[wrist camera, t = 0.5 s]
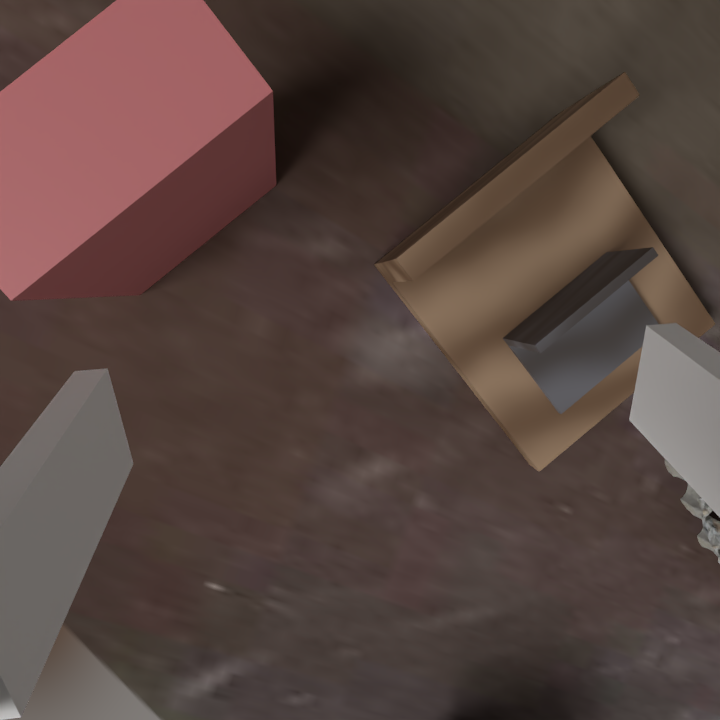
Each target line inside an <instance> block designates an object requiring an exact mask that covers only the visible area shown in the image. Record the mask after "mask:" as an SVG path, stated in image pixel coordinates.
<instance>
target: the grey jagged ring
mask: <svg viewBox="0 0 720 720" xmlns="http://www.w3.org/2000/svg"><path fill="white" fill-rule="evenodd" d="M665 465H666V468H667V470H668V471H669V473H671V474H672V475H673V477H675V476H676V477H679V478H681V479H683V480H684V478H683V477H682V476H681V475H680V474H679V473H678V472H677V471H676V470H675V469H674V468H673V467H672V466H671V464H670V463H669V462H668V461H667V460H666V459H665ZM681 501H682V503H683V504H684V506H685V507H686V509H687V510H689V511H690V512H691V513H692V514H693V515H694V516H697V517H698V518H700V519H702V522H703V529H702V531H701V532H700V533H699V534H698V535H697V537H698V541H699V543H700V544H701V546H702V547H705V548H708V549H710V550H712V551H713V552H714V553H715V554H716V555H717V556H718V558H719V559H718V562H719V563H720V550H719V549H720V522H719V521H718V520H716V519H714V518H712V517H711V516H709V514H710V513H711V512H712V511H713V510H712V509H711V508H710V507H709V505H708V504H707V503H706V502H705V501H704V500H703V499H702V498H701V497H700V496H699V495H698V494H697V493H696V491H695V490H694V489H693V488H692V487H691V486H690V485H689V484H688V487H687V491H686V494H685V495H684V496H683V497H682V498H681Z"/></svg>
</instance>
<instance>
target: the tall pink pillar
mask: <svg viewBox="0 0 720 720" xmlns="http://www.w3.org/2000/svg"><path fill="white" fill-rule="evenodd" d="M275 186H276V161H275V134H274V106H273V91H272V89H271V88H270V87H269V85H268V84H267V83H266V81H265V80H264V79H263V77H262V76H261V75H260V74H259V72H258V71H257V70H256V68H255V67H254V66H253V64H252V63H251V62H250V61H249V59H248V58H247V57H246V55H245V54H244V53H243V51H242V50H241V49H240V47H239V46H238V45H237V44H236V42H235V41H234V40H233V38H232V37H231V36H230V34H229V33H228V32H227V30H226V29H225V28H224V27H223V25H222V24H221V23H220V21H219V20H218V19H217V17H216V16H215V15H214V14H213V12H212V11H211V10H210V8H209V7H208V6H207V4H206V3H205V2H204V0H116V1H115V2H114V3H112V4H111V5H110V6H109V7H107V8H106V9H105V10H104V11H102V12H101V13H100V14H99V15H97V16H96V17H95V18H93V19H92V20H91V21H90V22H88V23H87V24H86V25H85V26H83V27H82V28H81V29H79V30H78V31H77V32H76V33H74V34H73V35H72V36H71V37H69V38H68V39H67V40H66V41H64V42H63V43H62V44H60V45H59V46H58V47H57V48H55V49H54V50H53V51H52V52H50V53H49V54H48V55H46V56H45V57H44V58H43V59H41V60H40V61H39V62H38V63H36V64H35V65H34V66H33V67H31V68H30V69H29V70H27V71H26V72H25V73H24V74H22V75H21V76H20V77H19V78H17V79H16V80H15V81H13V82H12V83H11V84H10V85H8V86H7V87H6V88H5V89H3V90H2V91H1V92H0V289H1V290H2V291H3V292H4V294H5V295H6V296H7V297H8V298H9V299H10V300H11V301H17V300H39V299H61V298H84V297H106V296H129V295H141V294H142V293H143V292H145V291H146V290H147V289H148V288H150V287H151V286H152V285H153V284H155V283H156V282H157V281H158V280H160V279H161V278H162V277H163V276H165V275H166V274H167V273H168V272H169V271H171V270H172V269H173V268H174V267H176V266H177V265H178V264H179V263H181V262H182V261H183V260H184V259H186V258H187V257H188V256H189V255H191V254H192V253H193V252H194V251H195V250H197V249H198V248H199V247H200V246H202V245H203V244H204V243H205V242H207V241H208V240H209V239H210V238H212V237H213V236H214V235H215V234H217V233H218V232H219V231H220V230H222V229H223V228H224V227H225V226H226V225H228V224H229V223H230V222H231V221H233V220H234V219H235V218H236V217H238V216H239V215H240V214H241V213H243V212H244V211H245V210H246V209H248V208H249V207H250V206H251V205H252V204H254V203H255V202H256V201H257V200H259V199H260V198H261V197H262V196H264V195H265V194H266V193H267V192H269V191H270V190H271V189H272V188H274V187H275Z"/></svg>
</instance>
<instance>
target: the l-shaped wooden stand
mask: <svg viewBox="0 0 720 720" xmlns="http://www.w3.org/2000/svg"><path fill="white" fill-rule="evenodd" d="M638 96H640V95H639V93H638V91H637V90H636V88H635V87H634V85H633V84H632V82H631V80H630V79H629V77H628V76H627V74H626V73H625V72H624V73H622V74H621V75H619V76H617V77H616V78H614V79H613V80H611V81H610V82H608V83H606V84H605V85H603V86H602V87H600V88H598V89H597V90H595V91H594V92H592V93H590V94H589V95H587V96H586V97H584V98H583V99H581V100H579V101H578V102H576V103H575V104H573V105H571V106H570V107H568V108H567V109H565V110H563V111H562V112H560V113H559V114H558V115H556V116H555V117H554V118H553V119H552V120H550V121H549V122H548V123H547V124H545V125H544V126H543V127H542V128H541V129H539V130H538V131H537V132H536V133H534V134H533V135H532V136H531V137H530V138H528V139H527V140H526V141H525V142H523V143H522V144H521V145H520V146H519V147H517V148H516V149H515V150H514V151H512V152H511V153H510V154H509V155H508V156H506V157H505V158H504V159H503V160H501V161H500V162H499V163H498V164H496V165H495V166H494V167H493V168H492V169H490V170H489V171H488V172H487V173H485V174H484V175H483V176H482V177H481V178H479V179H478V180H477V181H476V182H474V183H473V184H472V185H471V186H470V187H468V188H467V189H466V190H465V191H463V192H462V193H461V194H460V195H459V196H457V197H456V198H455V199H454V200H452V201H451V202H450V203H449V204H448V205H446V206H445V207H444V208H443V209H441V210H440V211H439V212H438V213H436V214H435V215H434V216H433V217H432V218H430V219H429V220H428V221H427V222H425V223H424V224H423V225H422V226H421V227H419V228H418V229H417V230H416V231H414V232H413V233H412V234H411V235H410V236H408V237H407V238H406V239H405V240H403V241H402V242H401V243H400V244H399V245H397V246H396V247H395V248H394V249H392V250H391V251H390V252H389V253H388V254H386V255H385V256H384V257H383V258H381V259H380V260H379V261H378V262H377V263H375V264H374V265H375V267H376V268H377V269H378V270H379V272H380V273H381V274H382V276H383V277H384V278H385V279H386V281H387V282H388V283H389V285H390V286H391V287H392V288H393V290H394V291H395V292H396V294H397V295H398V296H399V297H400V299H401V300H402V301H403V303H404V304H405V305H406V306H407V308H408V309H409V310H410V312H411V313H412V314H413V315H414V317H415V318H416V319H417V320H418V322H419V323H420V324H421V326H422V327H423V328H424V329H425V331H426V332H427V333H428V335H429V336H430V337H431V338H432V340H433V341H434V342H435V344H436V345H437V346H438V347H439V349H440V350H441V351H442V353H443V354H444V355H445V356H446V358H447V359H448V360H449V362H450V363H451V364H452V365H453V367H454V368H455V369H456V371H457V372H458V373H459V374H460V376H461V377H462V378H463V380H464V381H465V382H466V383H467V385H468V386H469V387H470V389H471V390H472V391H473V392H474V394H475V395H476V396H477V398H478V399H479V400H480V401H481V403H482V404H483V405H484V407H485V408H486V409H487V410H488V412H489V413H490V414H491V416H492V417H493V418H494V419H495V421H496V422H497V423H498V425H499V426H500V427H501V428H502V430H503V431H504V432H505V434H506V435H507V436H508V437H509V439H510V440H511V441H512V442H513V444H514V445H515V446H516V448H517V449H518V450H519V451H520V453H521V454H522V455H523V457H524V458H525V459H526V460H527V462H528V463H529V464H530V465H531V466H532V467H533V468H535V469H536V470H538V471H541V470H542V469H543V468H544V467H545V466H547V465H548V464H549V463H550V462H551V461H553V460H554V459H555V458H556V457H557V456H559V455H560V454H561V453H562V452H563V451H564V450H566V449H567V448H568V447H569V446H570V445H572V444H573V443H574V442H575V441H576V440H578V439H579V438H580V437H581V436H582V435H584V434H585V433H586V432H587V431H588V430H590V429H591V428H592V427H593V426H594V425H595V424H597V423H598V422H599V421H600V420H601V419H603V418H604V417H605V416H606V415H607V414H609V413H610V412H611V411H612V410H613V409H615V408H616V407H617V406H618V405H619V404H621V403H622V402H623V401H624V400H625V399H627V398H628V397H629V396H630V395H631V394H632V393H634V391H635V385H636V380H637V374H638V369H639V363H640V358H641V352H642V347H643V341H644V335H645V330H646V325H658V324H670V323H677V324H678V325H680V326H681V327H683V328H684V329H686V330H687V331H689V332H690V333H692V334H693V335H695V336H696V337H698V338H699V337H700V336H702V335H703V334H704V333H705V332H706V331H708V330H709V329H710V328H711V327H712V326H714V325H715V323H714V321H713V320H712V318H711V316H710V315H709V313H708V312H707V310H706V309H705V307H704V306H703V304H702V303H701V301H700V300H699V298H698V297H697V295H696V294H695V292H694V291H693V289H692V288H691V286H690V285H689V283H688V282H687V280H686V279H685V277H684V276H683V274H682V273H681V271H680V270H679V268H678V267H677V265H676V264H675V262H674V261H673V259H672V258H671V256H670V255H669V253H668V252H667V250H666V249H665V247H664V246H663V244H662V243H661V241H660V240H659V238H658V237H657V235H656V234H655V232H654V231H653V229H652V228H651V226H650V225H649V223H648V222H647V220H646V219H645V217H644V216H643V214H642V213H641V211H640V210H639V208H638V207H637V205H636V203H635V202H634V200H633V199H632V197H631V196H630V194H629V193H628V191H627V190H626V188H625V187H624V185H623V184H622V182H621V181H620V179H619V178H618V176H617V175H616V173H615V172H614V170H613V169H612V167H611V166H610V164H609V163H608V161H607V160H606V158H605V157H604V155H603V154H602V152H601V151H600V149H599V148H598V146H597V145H596V143H595V142H594V140H593V139H592V137H591V135H592V134H593V133H594V132H596V131H597V130H598V129H599V128H601V127H602V126H603V125H604V124H605V123H607V122H608V121H609V120H610V119H612V118H613V117H614V116H615V115H616V114H618V113H619V112H620V111H621V110H623V109H624V108H625V107H626V106H627V105H629V104H630V103H631V102H632V101H634V100H635V99H636V98H637V97H638Z"/></svg>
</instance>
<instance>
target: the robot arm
mask: <svg viewBox="0 0 720 720" xmlns="http://www.w3.org/2000/svg"><path fill="white" fill-rule="evenodd" d="M629 420H630V421H631V422H632V423H633V425H634V426H635V427H636V428H637V429H638V430H639V431H640V432H641V433H642V434H643V435H644V436H645V437H646V439H647V440H648V441H649V442H650V443H651V444H652V445H653V446H654V447H655V448H656V449H657V450H658V451H659V453H660V454H661V455H662V456H663V457H664V458H665V459H666V460H667V461H668V462H669V463H670V464H671V466H672V467H673V468H674V469H675V470H676V471H677V472H678V473H679V474H680V475H681V476H682V477H683V478H684V480H685V481H686V482H687V483H688V484H689V485H690V486H691V487H692V488H693V489H694V490H695V491H696V493H697V494H698V495H699V496H700V497H701V498H702V499H703V500H704V501H705V502H706V503H707V504H708V505H709V507H710V508H711V509H712V510H713V511H714V512H715V513H716V514H717V515H718V516H719V517H720V352H718V351H717V350H715V349H714V348H712V347H711V346H709V345H708V344H706V343H705V342H703V341H702V340H700V339H699V338H698V337H696V336H695V335H693V334H692V333H690V332H689V331H687V330H686V329H684V328H683V327H681V326H680V325H678V324H677V323H670V324H658V325H646V330H645V335H644V341H643V347H642V352H641V358H640V363H639V369H638V374H637V380H636V385H635V391H634V396H633V402H632V407H631V413H630V419H629ZM132 466H133V461H132V457H131V453H130V449H129V446H128V442H127V438H126V435H125V431H124V427H123V424H122V420H121V416H120V413H119V409H118V405H117V402H116V398H115V394H114V390H113V387H112V383H111V379H110V376H109V372H108V369H96V370H84V371H74V373H73V374H72V375H71V376H70V378H69V379H68V380H67V382H66V383H65V384H64V385H63V387H62V388H61V389H60V391H59V392H58V393H57V394H56V396H55V397H54V398H53V400H52V401H51V402H50V404H49V405H48V406H47V407H46V409H45V410H44V411H43V413H42V414H41V415H40V416H39V418H38V419H37V420H36V422H35V423H34V424H33V425H32V427H31V428H30V429H29V431H28V432H27V433H26V434H25V436H24V437H23V438H22V440H21V441H20V442H19V444H18V445H17V446H16V447H15V449H14V450H13V451H12V453H11V454H10V455H9V456H8V458H7V459H6V460H5V462H4V463H3V464H2V465H1V467H0V720H3V719H12V718H20V717H22V714H23V712H24V710H25V708H26V705H27V703H28V701H29V699H30V696H31V694H32V691H33V689H34V687H35V685H36V683H37V680H38V678H39V676H40V673H41V671H42V669H43V667H44V665H45V662H46V660H47V658H48V655H49V653H50V651H51V649H52V647H53V644H54V642H55V640H56V638H57V635H58V633H59V631H60V629H61V626H62V624H63V622H64V619H65V617H66V615H67V613H68V610H69V608H70V606H71V604H72V601H73V599H74V597H75V595H76V592H77V590H78V588H79V586H80V583H81V581H82V579H83V577H84V574H85V572H86V570H87V567H88V565H89V563H90V561H91V558H92V556H93V554H94V552H95V549H96V547H97V545H98V543H99V540H100V538H101V536H102V534H103V531H104V529H105V527H106V525H107V522H108V520H109V518H110V515H111V513H112V511H113V509H114V506H115V504H116V502H117V500H118V497H119V495H120V493H121V491H122V488H123V486H124V484H125V482H126V479H127V477H128V475H129V473H130V470H131V468H132Z"/></svg>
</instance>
